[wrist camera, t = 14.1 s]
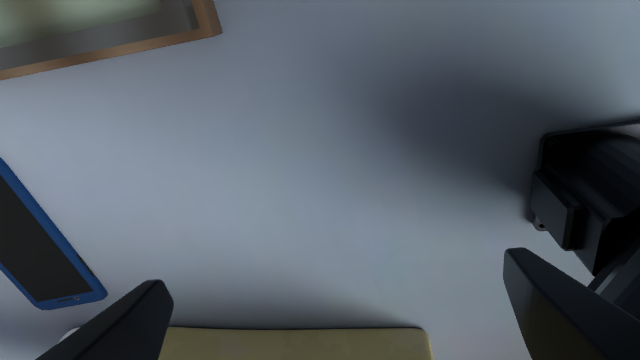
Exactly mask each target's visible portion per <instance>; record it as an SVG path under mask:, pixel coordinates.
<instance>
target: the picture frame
mask: <svg viewBox="0 0 640 360" xmlns="http://www.w3.org/2000/svg"><path fill="white" fill-rule="evenodd" d="M221 33H223V32H222V29H221V26H220V22H219V19H218V16H217V12H216V9H215V5H214V2H213V0H0V80H5V79H10V78H14V77H19V76H24V75H29V74H34V73H39V72H44V71H48V70H53V69H58V68H63V67H68V66H73V65H78V64H82V63H87V62H92V61H97V60H102V59H107V58H111V57H116V56H121V55H126V54H131V53H136V52H141V51H145V50H150V49H155V48H160V47H165V46H170V45H175V44H179V43H184V42H189V41H194V40H199V39H204V38H209V37H213V36H216V35H218V34H221Z"/></svg>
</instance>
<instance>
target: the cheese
mask: <svg viewBox="0 0 640 360" xmlns="http://www.w3.org/2000/svg"><path fill="white" fill-rule="evenodd" d="M158 360H434V359H433V355H432V350H431V345H430V340H429V337H428V334H427V333H426V332H425V331H424V330H421V329H416V328H384V329H316V330H231V329H205V328H185V327H168V328H167V332H166V335H165V338H164V342H163V345H162V349H161V352H160V355H159V358H158Z"/></svg>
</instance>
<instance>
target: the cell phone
mask: <svg viewBox="0 0 640 360" xmlns="http://www.w3.org/2000/svg"><path fill="white" fill-rule="evenodd" d="M0 270H1V271H2V272H3V273H4V274H5V275H6V276H7V277H8V278H9V279H10V280H11V281H12V282H13V284H14V285H15V286H16V287H17V288H18V289H19V290H20V291H21V292H22V293H23V294H24V295H25V296H26V297H27V299H28V300H29V301H30V302H31V303H32V304H33V305H34V306H35V307H37V308H39V309H41V310H52V309H57V308H63V307H68V306H74V305H79V304H84V303H90V302H95V301H99V300H102V299H104V298H105V297H106V296H107V294H108V293H107V291H106V290H105V288H104V287H103V285H102V284H101V283H100V281H99V280H98V279H97V277H96V276H95V275H94V274H93V272H92V271H91V270H90V269H89V267H88V266H87V265H86V263H85V262H84V261H83V260H82V258H81V257H80V256H79V255H78V253H77V252H76V251H75V250H74V248H73V247H72V246H71V244H70V243H69V242H68V241H67V239H66V238H65V237H64V236H63V234H62V233H61V232H60V231H59V229H58V228H57V227H56V226H55V224H54V223H53V222H52V220H51V219H50V218H49V217H48V215H47V214H46V213H45V212H44V210H43V209H42V208H41V207H40V205H39V204H38V203H37V202H36V200H35V199H34V198H33V196H32V195H31V194H30V193H29V191H28V190H27V189H26V188H25V186H24V185H23V184H22V183H21V181H20V180H19V179H18V178H17V176H16V175H15V174H14V172H13V171H12V170H11V169H10V167H9V166H8V165H7V164H6V163H5V162H4V161H3V160H2V158H1V157H0Z"/></svg>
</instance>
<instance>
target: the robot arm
mask: <svg viewBox="0 0 640 360" xmlns="http://www.w3.org/2000/svg"><path fill="white" fill-rule="evenodd" d="M553 139H555V141H554V143H552V144H551V145H548V143H549V141H551V140H553ZM530 208H531V210H532V211H533V217H532V224H533V226H534V227H535V228H536V230H538V231H548V232H549V233H550V234H551V236H552V237H553V238H554V239H555V241H556V242H557V243H558V245H559V246H560V247H561V248H562V249H563V250H565V251H573V252H574V253H575V254H576V255H577V257H578V258H579V259H580V260H581V262H582V263H583V264H584V265H585V267H586V268H587V269H588V270H589V272H590V273H591V274H592V275H593V276H594V277H595V278H594V279H593V280H592V282H591V283H590V284H589V285H588V287H586V286H584V285H583V284H581V283H580V282H578V281H577V280H575V279H573V278H572V277H570V276H569V275H567V274H566V273H564V272H562V271H561V270H559V269H558V268H556V267H555V266H553V265H551V264H550V263H548V262H547V261H545V260H544V259H542V258H540V257H539V256H537V255H536V254H534V253H533V252H531V251H529V250H528V249H526V248H522V247H521V248H509V249H507V250H505V253H504V267H503V279H504V284H505V287H506V290H507V293H508V296H509V299H510V301H511V304H512V307H513V310H514V313H515V316H516V319H517V322H518V325H519V327H520V330H521V333H522V336H523V339H524V341H525V344H526V347H527V349H528V351H529V353H530V356H531V358H532V360H640V121H632V122H625V123H617V124H610V125H603V126H595V127H588V128H580V129H573V130H565V131H558V132H551V133H547V134H545V135H544V136H543V137H542V138H541V141H540V147H539V157H538V167H537V169H536V170H535V172H534V173H533V180H532V190H531V201H530ZM540 223H542V224H540ZM173 306H174V304H173V299H172V297H171V295H170V293H169V291H168V289H167V288H166V286H165V284H164V282H163V281H162V280H159V279H155V280H147V281H145V282H143V283H142V284H140V285H139V286H137V287H136V288H135V289H133V290H132V291H130V292H129V293H128V294H126V295H125V296H123V297H122V298H121V299H119V300H118V301H116V302H115V303H114V304H112V305H111V306H110V307H108V308H107V309H105V310H104V311H103V312H101V313H100V314H98V315H97V316H96V317H94V318H93V319H91V320H90V321H89V322H87V323H86V324H84V325H83V326H82V327H80V328H79V329H77V330H76V331H75V332H73V333H72V334H70V335H69V336H68V337H66V338H65V339H63V340H62V341H61V342H59V343H58V344H56V345H55V346H54V347H52V348H51V349H49V350H48V351H47V352H45V353H44V354H42V355H41V356H40V357H38V358H37V359H35V360H158V358H159V355H160V352H161V349H162V345H163V342H164V338H165V335H166V332H167V328H168V325H169V321H170V318H171V315H172V311H173Z"/></svg>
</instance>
